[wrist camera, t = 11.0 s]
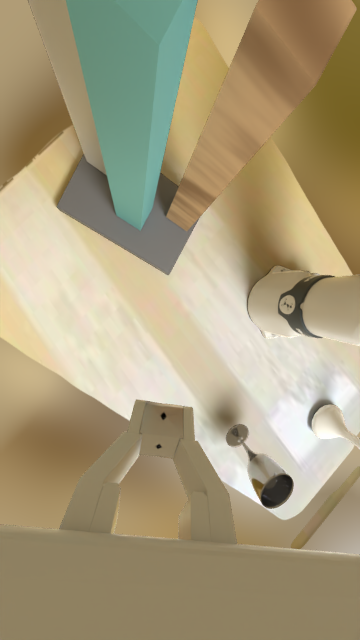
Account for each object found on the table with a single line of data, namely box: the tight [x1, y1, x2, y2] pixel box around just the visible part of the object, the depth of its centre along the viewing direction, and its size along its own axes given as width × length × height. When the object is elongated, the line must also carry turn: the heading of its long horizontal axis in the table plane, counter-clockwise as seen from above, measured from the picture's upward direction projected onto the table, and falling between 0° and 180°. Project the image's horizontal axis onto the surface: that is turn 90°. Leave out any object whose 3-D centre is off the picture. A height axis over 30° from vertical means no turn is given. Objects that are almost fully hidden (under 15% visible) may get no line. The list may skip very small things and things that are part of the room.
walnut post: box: [166, 0, 357, 231], centre depth 24 cm, size 5×5×28 cm
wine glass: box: [226, 424, 294, 509], centre depth 44 cm, size 8×8×15 cm
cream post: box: [28, 0, 107, 175], centre depth 19 cm, size 5×5×28 cm
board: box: [57, 154, 200, 275], centre depth 36 cm, size 16×23×2 cm
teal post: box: [66, 0, 198, 231], centre depth 21 cm, size 5×5×28 cm
